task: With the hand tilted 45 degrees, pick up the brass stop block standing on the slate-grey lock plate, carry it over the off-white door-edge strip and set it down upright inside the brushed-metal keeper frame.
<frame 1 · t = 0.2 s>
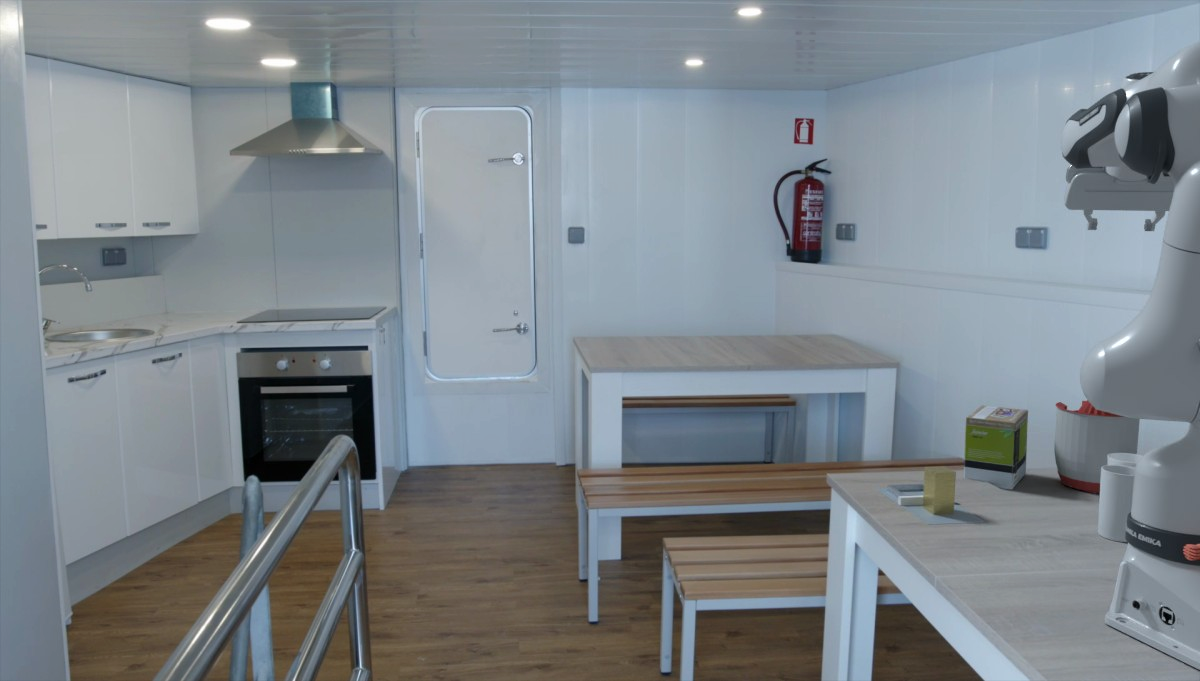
hand: (1119, 229, 164), 54 cm above the table, tool tilted 30°, fingers open, 8 cm apart
keeper: (913, 500, 173), resting on lock plate
stop block: (938, 510, 163), point 1 cm above the table, touching lock plate
mug: (1118, 534, 154), on the table
tea box: (994, 479, 188), on the table
lock plate: (927, 509, 167), on the table
white cup: (1127, 509, 168), on the table
citrus juicer: (1088, 486, 183), on the table
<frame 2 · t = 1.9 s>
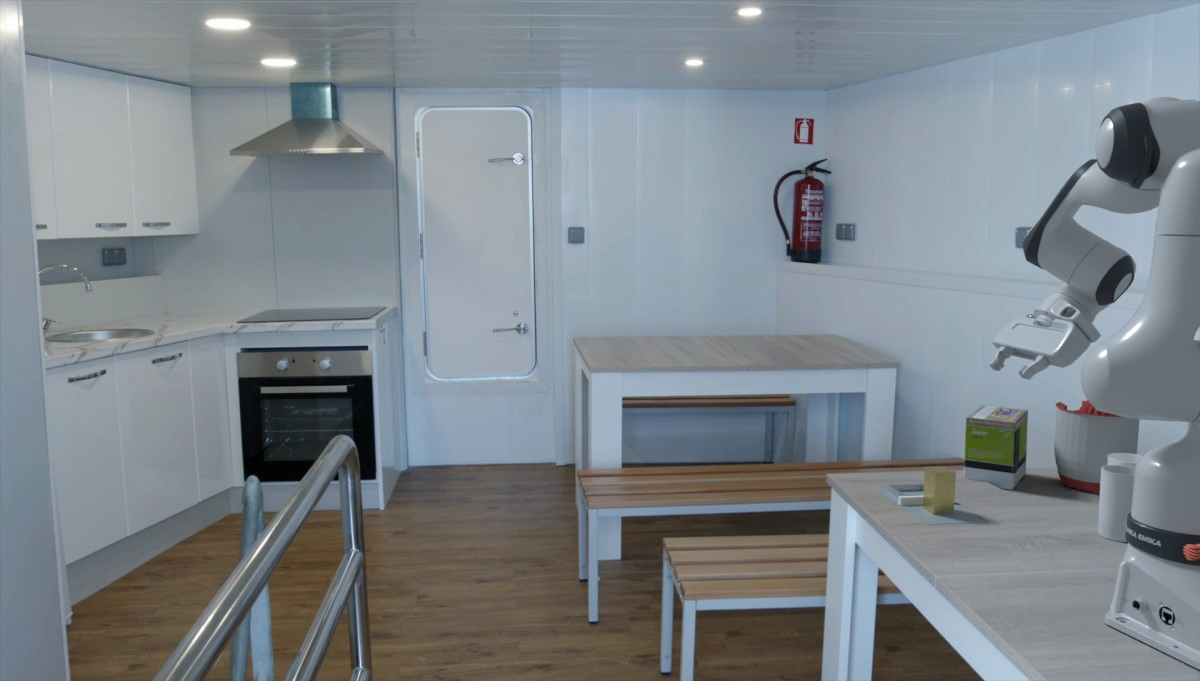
hand: (1007, 372, 162), 27 cm above the table, tool tilted 45°, fingers open, 8 cm apart
nothing on the table moved.
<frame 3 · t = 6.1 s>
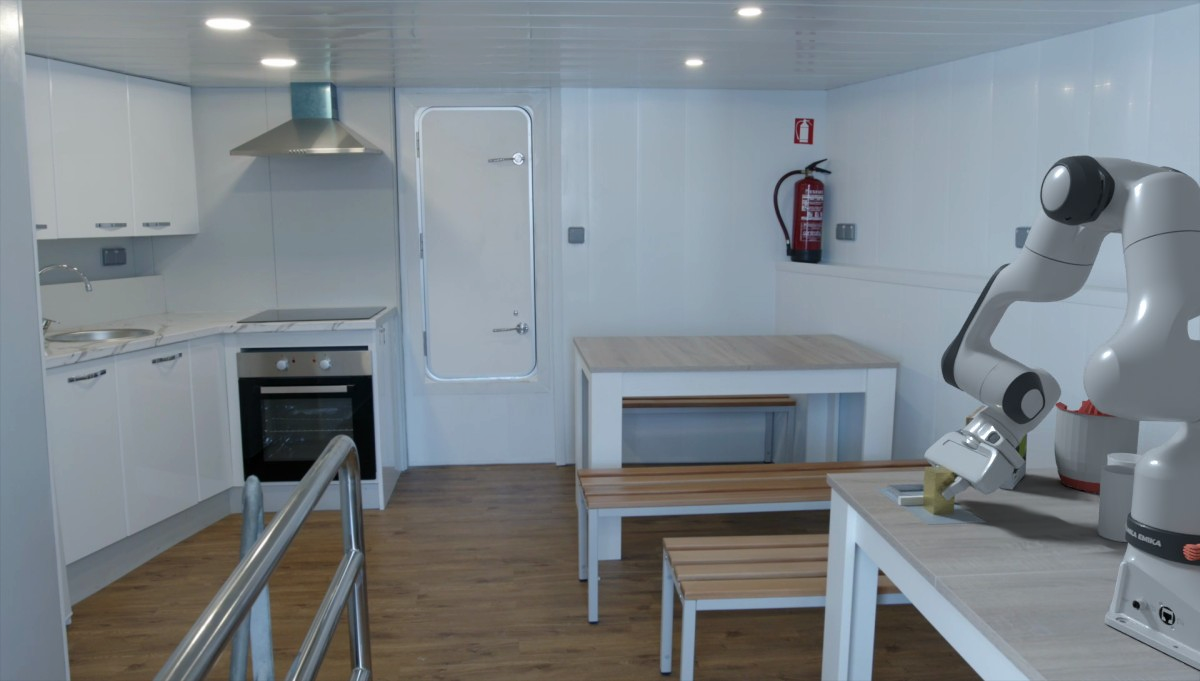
hand: (935, 492, 163), 5 cm above the table, tool tilted 45°, fingers closed on stop block, 4 cm apart
stop block: (938, 510, 163), point 1 cm above the table, touching gripper, lock plate
everything else where it was.
when the fingers open (7 cm above the table, at t = 10.4 s): stop block drops 2 cm, resting on lock plate.
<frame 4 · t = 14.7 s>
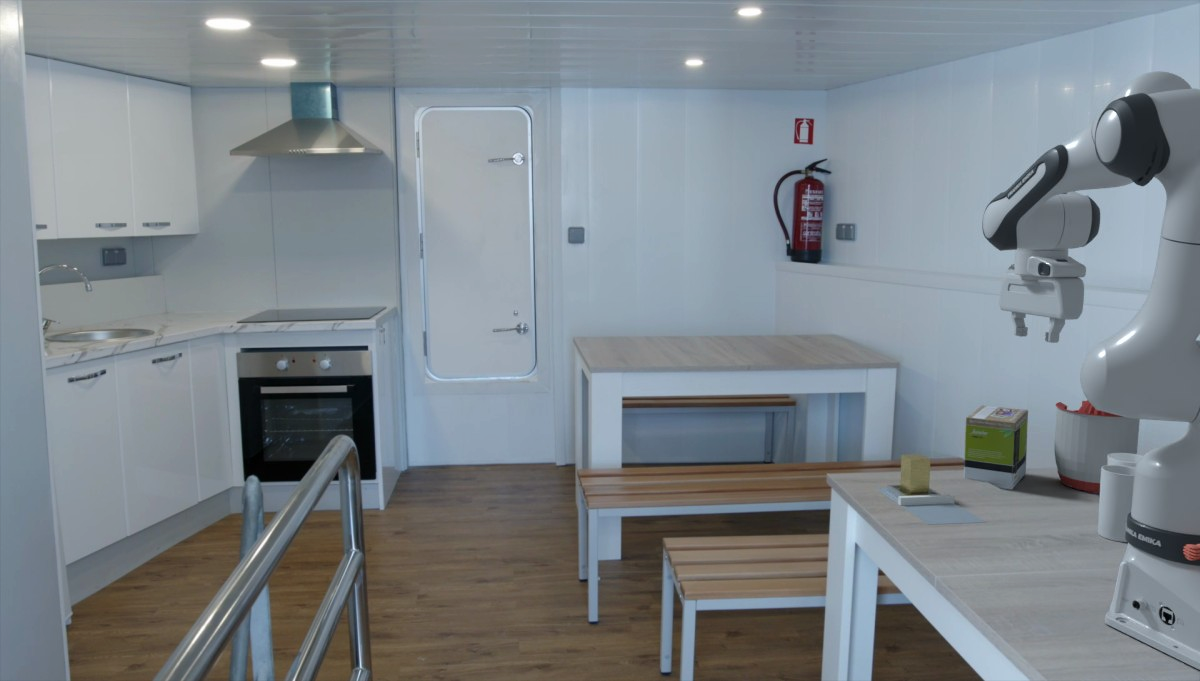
hand: (1035, 339, 164), 33 cm above the table, tool pointing down, fingers open, 8 cm apart
stop block: (914, 495, 173), point 1 cm above the table, touching lock plate
everything else where it was.
at the end: stop block 0.1 cm off-centre on the keeper, point 1.0 cm above the keeper's base; stop block tilted 0°; the gripper is holding nothing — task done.
